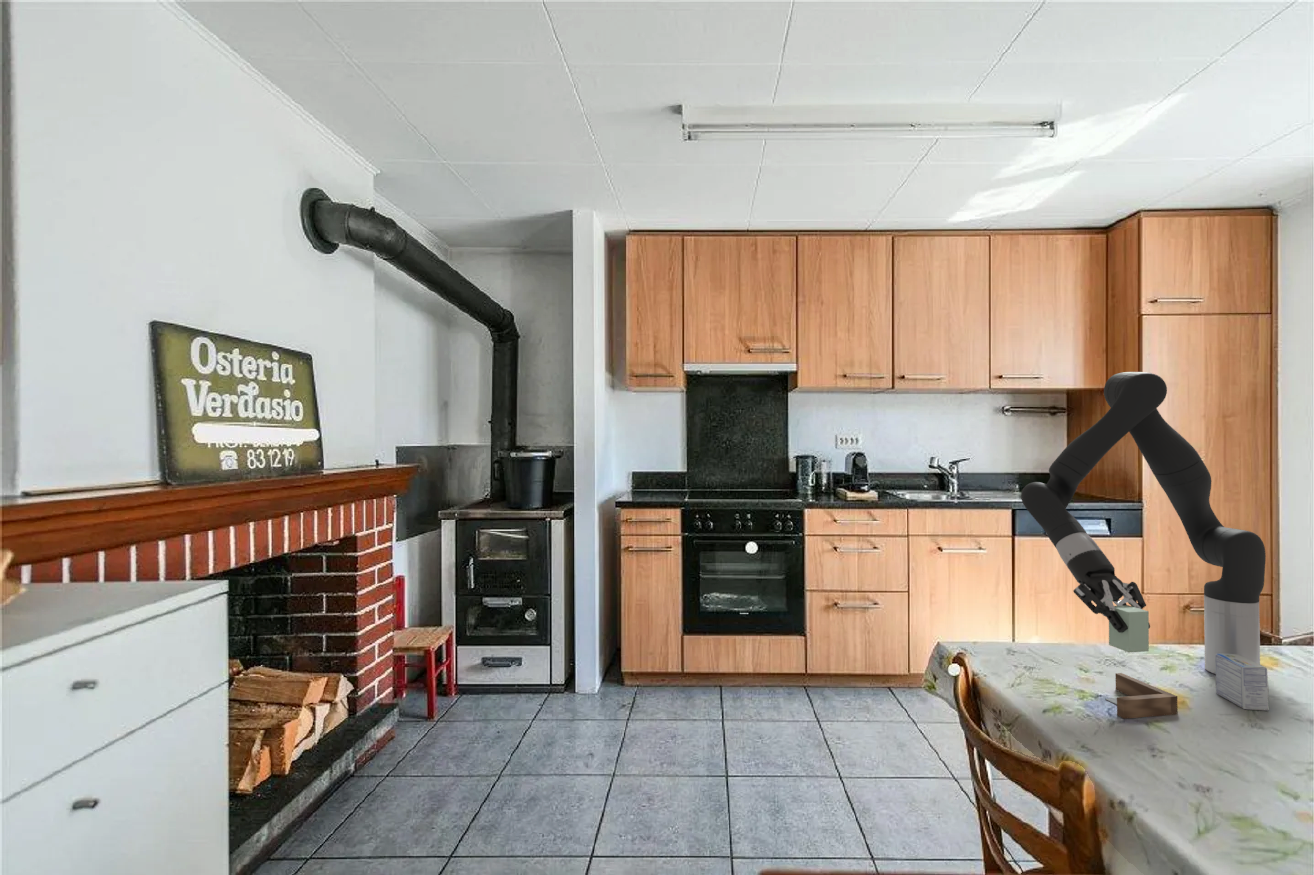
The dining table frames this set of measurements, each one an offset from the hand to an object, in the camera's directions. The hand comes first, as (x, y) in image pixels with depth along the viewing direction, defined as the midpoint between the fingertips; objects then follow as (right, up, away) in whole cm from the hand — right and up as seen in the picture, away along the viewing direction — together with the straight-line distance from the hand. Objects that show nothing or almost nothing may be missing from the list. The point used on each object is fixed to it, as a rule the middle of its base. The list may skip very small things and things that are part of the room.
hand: (1134, 629), depth 121 cm
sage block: (0, -4, +1) cm, 4 cm away
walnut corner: (-1, -16, +2) cm, 16 cm away
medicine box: (+24, -16, +2) cm, 28 cm away
